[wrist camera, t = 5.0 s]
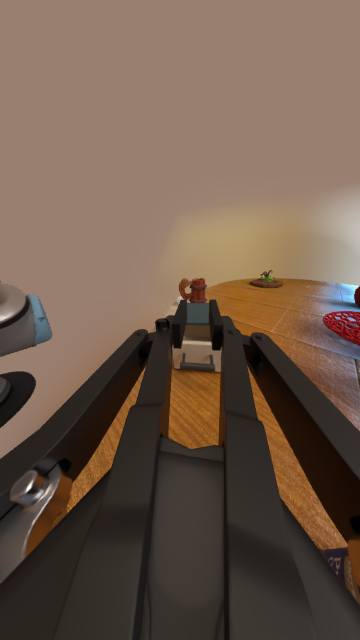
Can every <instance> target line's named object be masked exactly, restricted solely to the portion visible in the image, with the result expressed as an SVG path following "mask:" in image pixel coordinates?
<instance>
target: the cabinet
mask: <svg viewBox="0 0 360 640" xmlns="http://www.w3.org/2000/svg"><path fill="white" fill-rule="evenodd" d="M186 325H205V326H209V303H187V322H186Z"/></svg>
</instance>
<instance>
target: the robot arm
mask: <svg viewBox="0 0 360 640" xmlns="http://www.w3.org/2000/svg"><path fill="white" fill-rule="evenodd" d="M186 322H187V300H181V301H180V304H179V306H178V309H177V311H176V314H175V315H169V316H167V317H166V318H162V319H158V320H156V322H155V324H156V332H153V333H148V331H147V330H145V329H140V330H137V331H135V332H134V333H133V334H132V335H131V336H130V337H129V338H128V339H127V340H126V341H125V342H124V343H123V344H122V345H121V346H120V347H119V348H118V349H117V350H116V351H115V352H114V353H113V354H112V355H111V356H110V357H109V358H108V359H107V360H106V361H105V362H104V363H103V364H102V366H101V367H100V368H99V369H98V370H97V371H96V372H95V373H94V374H93V375H92V376H91V377H90V378H89V379H88V380H87V381H86V382H85V383H84V384H83V385H82V386H81V387H80V388H79V389H78V390H77V391H76V392H75V393H74V394H73V395H72V396H71V397H70V398H69V399H68V400H67V401H66V403H64V404H63V405H62V406H61V408H59V409H58V410H57V411H56V412H55V414H54V415H53V416H52V417H51V418H50V419H49V420H48V421H47V422H46V423H45V424H44V425H43V426H42V427H41V428H40V429H39V430H38V431H36V432H35V433H34V434H32V435H31V436H30V437H28V438H27V439H26V440H25V441H23V442H22V443H21V444H20V445H18V446H17V447H15V448H14V449H13V450H11V451H10V452H9V453H8V454H6V455H5V456H4V457H3V458H1V459H0V640H360V604H359V603H358V602H357V600H356V599H355V598H354V596H353V595H352V594H351V592H350V591H349V590H348V588H347V587H346V586H345V584H344V583H343V581H342V580H341V579H340V577H339V576H338V575H337V573H336V572H335V571H334V569H333V568H332V567H331V565H330V564H329V563H328V561H327V560H326V558H325V557H324V556H323V554H322V553H321V552H320V550H319V549H318V548H317V546H316V545H315V544H314V542H313V541H312V540H311V538H310V537H309V535H308V534H307V533H306V531H305V530H304V529H303V527H302V526H301V525H300V523H299V522H298V521H297V519H296V518H295V517H294V515H293V514H292V512H291V511H290V510H289V508H288V507H287V506H286V504H285V503H284V502H283V500H282V499H281V498H280V495H279V490H278V486H277V482H276V477H275V473H274V468H273V464H272V459H271V455H270V451H269V446H268V442H267V437H266V433H265V429H264V426H263V424H262V422H261V421H259V420H258V418H257V413H256V408H255V403H254V398H253V393H252V388H251V383H250V378H249V373H248V368H247V365H248V367H249V369H250V371H251V373H252V375H253V377H254V379H255V381H256V382H257V384H258V386H259V388H260V390H261V392H262V394H263V396H264V397H265V399H266V401H267V403H268V405H269V407H270V409H271V411H272V413H273V414H274V416H275V418H276V420H277V422H278V424H279V426H280V428H281V429H282V431H283V433H284V435H285V437H286V439H287V441H288V443H289V445H290V446H291V448H292V450H293V452H294V454H295V456H296V458H297V460H298V462H299V463H300V465H301V467H302V469H303V471H304V473H305V475H306V477H307V478H308V480H309V482H310V484H311V486H312V488H313V490H314V491H315V493H316V495H317V497H318V498H319V500H320V502H321V504H322V505H323V507H324V509H325V510H326V512H327V514H328V515H329V517H330V518H331V520H332V521H333V523H334V525H335V526H336V528H337V529H338V531H339V532H340V534H341V535H342V537H343V538H344V540H345V541H346V542H347V544H348V554H349V558H350V562H351V563H350V565H351V570H352V573H353V576H354V578H355V580H356V582H357V584H358V585H359V587H360V431H359V430H358V429H357V428H356V427H355V426H354V425H353V424H352V423H351V422H350V421H349V420H348V419H347V418H346V417H345V416H344V415H343V414H342V413H341V412H340V411H339V410H338V408H337V407H336V406H335V405H334V404H333V403H332V402H331V401H330V400H329V399H328V398H327V397H326V396H325V395H324V394H323V393H322V392H321V391H320V390H319V389H318V388H317V387H316V386H315V384H314V383H313V382H312V381H311V380H310V379H309V378H308V377H307V376H306V375H305V374H304V373H303V372H302V371H301V370H300V369H299V368H298V367H297V366H296V365H295V364H294V363H293V362H292V360H291V359H290V358H289V357H288V356H287V355H286V354H285V353H284V352H283V351H282V350H281V349H280V348H279V347H278V346H277V345H276V344H275V343H274V342H273V341H272V340H271V339H270V337H268V336H267V335H265V334H263V333H257V332H256V333H252V334H251V337H250V336H245V335H242V334H241V332H240V331H239V330H238V329H236V328H235V326H234V324H233V322H232V320H231V318H230V317H229V316H221V315H220V312H219V309H218V306H217V302H216V300H210V301H209V327H210V336H211V344H212V350H214V351H221V348H222V352H221V380H220V417H219V444H218V446H217V445H212V446H207V447H201V448H196V449H189V448H187V447H185V446H183V445H181V444H179V443H177V442H175V441H174V440H172V439H170V438H169V437H168V429H169V410H170V392H171V373H172V355H173V349H172V347H173V348H175V349H181V347H182V342H183V337H184V332H185V327H186ZM51 337H52V331H51V328H50V325H49V322H48V319H47V317H46V314H45V312H44V309H43V306H42V304H41V302H40V299H39V298H38V296H36V295H26V296H25V295H24V293H23V292H22V291H21V290H20V289H18V288H16V287H14V286H11V285H8V284H3V283H2V282H1V281H0V357H1V356H4V355H7V354H11V353H14V352H17V351H20V350H23V349H27V348H30V347H34V346H36V345H37V344H40V343H43V342H46V341H48V340H50V339H51ZM145 366H146V369H145V372H144V376H143V379H142V383H141V387H140V390H139V394H138V397H137V401H136V404H135V405H134V406H131V408H130V410H129V412H128V415H127V418H126V422H125V425H124V428H123V431H122V435H121V438H120V441H119V444H118V448H117V451H116V454H115V457H114V460H113V464H112V467H111V469H110V470H109V471H108V472H107V473H106V474H105V475H104V476H103V477H102V478H101V479H100V480H99V481H98V482H97V483H96V484H95V485H94V486H93V487H92V488H91V490H90V491H89V492H88V493H87V494H86V495H85V496H84V497H83V498H82V499H81V500H80V501H79V502H78V503H77V504H76V505H75V506H74V507H73V508H72V509H71V510H70V512H69V513H68V514H67V515H66V516H65V517H64V518H63V519H62V520H61V521H60V522H59V523H58V524H57V525H56V526H55V527H54V528H53V529H52V530H51V531H50V529H51V526H52V524H53V522H54V520H55V519H56V517H57V516H58V515H60V514H61V513H62V512H63V510H64V509H65V508H66V507H67V505H68V503H69V499H70V491H71V487H72V483H73V482H74V480H75V479H76V478H77V477H78V475H79V474H80V473H81V471H82V470H83V468H84V467H85V466H86V464H87V463H88V462H89V460H90V458H91V457H92V455H93V454H94V452H95V451H96V449H97V447H98V446H99V444H100V442H101V441H102V439H103V437H104V435H105V434H106V432H107V430H108V429H109V427H110V425H111V424H112V422H113V420H114V419H115V417H116V415H117V414H118V412H119V410H120V408H121V407H122V405H123V403H124V402H125V400H126V398H127V397H128V395H129V393H130V392H131V390H132V388H133V387H134V385H135V383H136V381H137V380H138V378H139V376H140V375H141V373H142V371H143V370H144V368H145ZM12 391H13V386H12V385H11V383H10V382H9V381H8V380H6V379H4V378H2V377H0V407H1V406H2V405H3V404H4V403H5V402H6V401H7V399H8V398H9V397H10V395H11V393H12ZM49 531H50V533H49ZM48 533H49V534H48Z"/></svg>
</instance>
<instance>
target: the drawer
mask: <svg viewBox="0 0 360 640" xmlns="http://www.w3.org/2000/svg"><path fill="white" fill-rule="evenodd" d="M172 349H173V362H174V368H175V369H185V370H198V371H212V372H215V371H216V372H221V352H222V348H221V351H214V350H212V344H211V336H210V327H209V326H205V325H186V327H185V332H184V337H183V342H182V347H181V349H175V348H173V347H172Z"/></svg>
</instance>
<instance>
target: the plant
mask: <svg viewBox="0 0 360 640" xmlns="http://www.w3.org/2000/svg"><path fill="white" fill-rule="evenodd" d="M270 271H271V273H272V272H273V271H272V270H270ZM270 271H269V272H268V274H267V272H264V273H263V274H264V275H265V276H264V278H263V277H261V278H262V279H261V278H260V279H257V280H253V281H251V282H250V284H251V285H253V286H258V287H262V288H276V287H279V286H283V283H282V282H280V281H275V280H272V279H274V277H273V278H271V276H270V277H269V273H270ZM265 273H266V274H265ZM263 274H261V276H262V275H263Z"/></svg>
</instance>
